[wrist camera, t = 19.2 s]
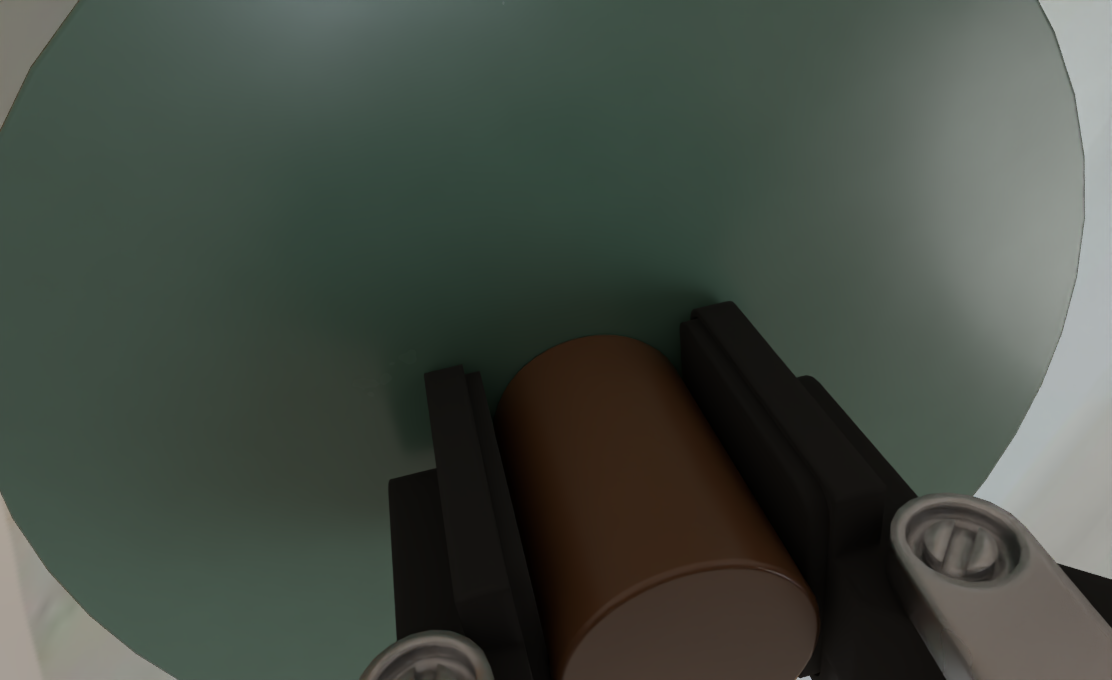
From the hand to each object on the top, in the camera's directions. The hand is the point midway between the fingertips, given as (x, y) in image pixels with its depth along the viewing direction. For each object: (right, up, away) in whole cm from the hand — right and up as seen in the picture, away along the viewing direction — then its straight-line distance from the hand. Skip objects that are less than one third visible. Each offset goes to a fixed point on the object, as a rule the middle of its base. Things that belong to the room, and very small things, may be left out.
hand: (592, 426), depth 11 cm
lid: (0, 0, +1) cm, 1 cm away
